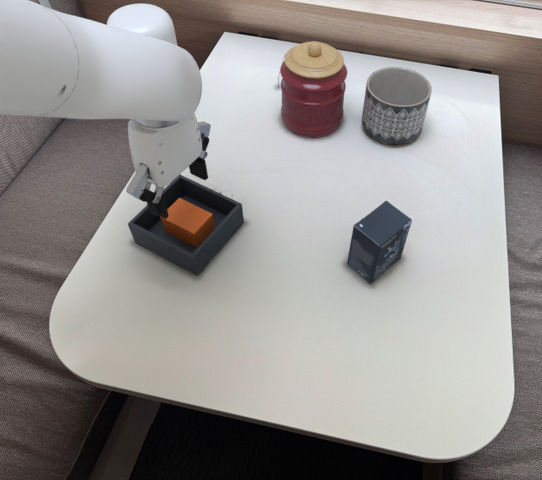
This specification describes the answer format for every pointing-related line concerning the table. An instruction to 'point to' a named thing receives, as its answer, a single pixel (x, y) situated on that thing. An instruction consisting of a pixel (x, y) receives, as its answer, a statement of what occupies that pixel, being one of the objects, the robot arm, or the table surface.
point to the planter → (395, 104)
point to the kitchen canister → (313, 89)
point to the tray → (186, 256)
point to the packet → (188, 222)
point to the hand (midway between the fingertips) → (180, 194)
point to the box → (378, 241)
